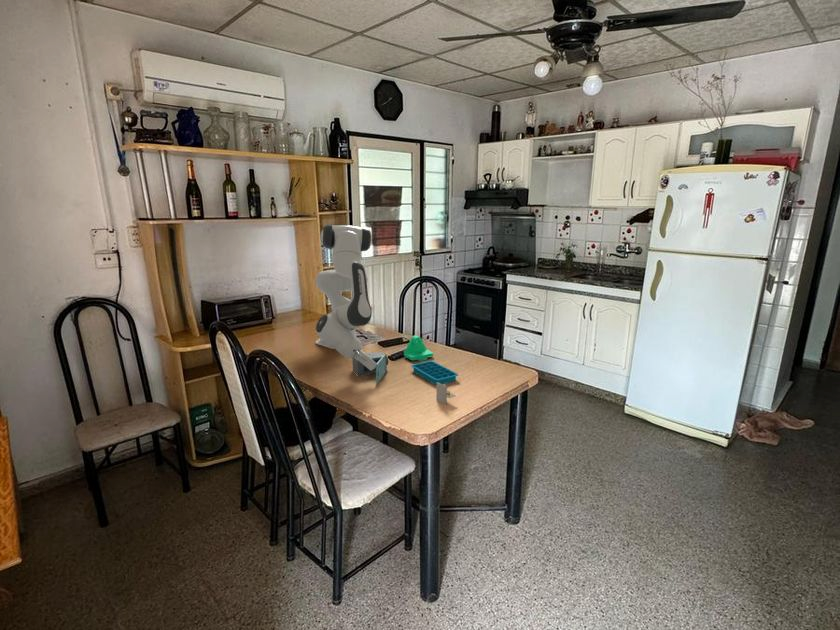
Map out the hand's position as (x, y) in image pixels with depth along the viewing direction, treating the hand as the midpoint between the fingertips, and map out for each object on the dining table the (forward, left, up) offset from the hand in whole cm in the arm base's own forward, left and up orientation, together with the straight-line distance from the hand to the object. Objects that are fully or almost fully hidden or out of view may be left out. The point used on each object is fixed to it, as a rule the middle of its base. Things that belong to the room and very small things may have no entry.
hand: (374, 366), depth 178 cm
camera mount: (+2, +34, -7) cm, 35 cm away
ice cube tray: (+19, +17, -7) cm, 26 cm away
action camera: (-8, +9, -6) cm, 13 cm away
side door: (+1, +5, -6) cm, 8 cm away
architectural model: (+33, -4, -7) cm, 34 cm away
